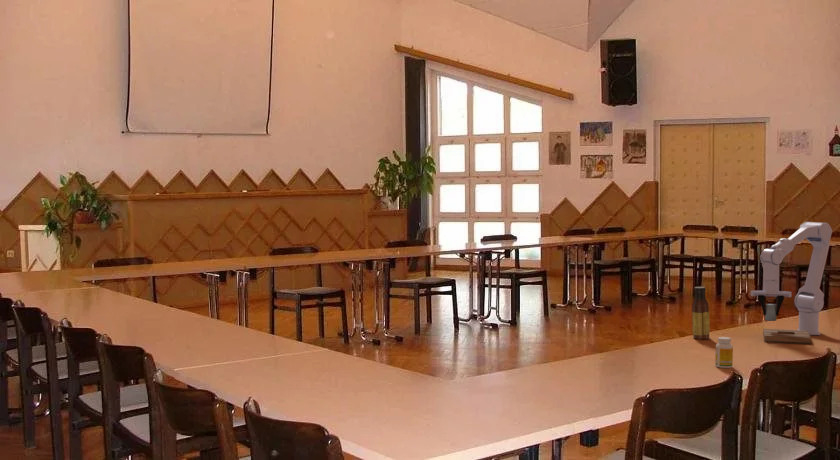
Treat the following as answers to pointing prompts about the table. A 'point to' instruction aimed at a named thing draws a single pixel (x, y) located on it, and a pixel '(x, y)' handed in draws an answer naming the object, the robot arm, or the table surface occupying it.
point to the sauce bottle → (700, 315)
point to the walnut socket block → (786, 336)
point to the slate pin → (770, 312)
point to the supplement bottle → (724, 353)
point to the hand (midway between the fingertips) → (770, 315)
